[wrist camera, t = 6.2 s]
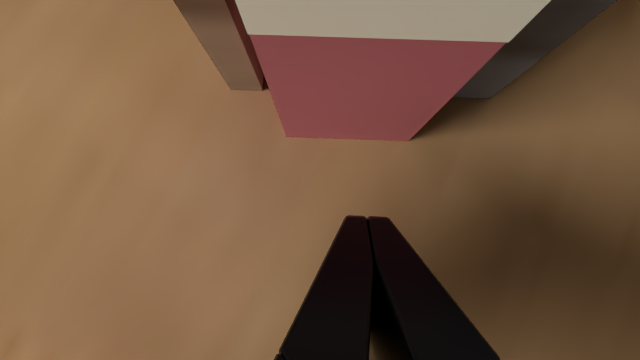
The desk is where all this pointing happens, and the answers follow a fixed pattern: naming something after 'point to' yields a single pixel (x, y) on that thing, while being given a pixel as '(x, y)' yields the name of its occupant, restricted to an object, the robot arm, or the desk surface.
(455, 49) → the book
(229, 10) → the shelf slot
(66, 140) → the desk surface
